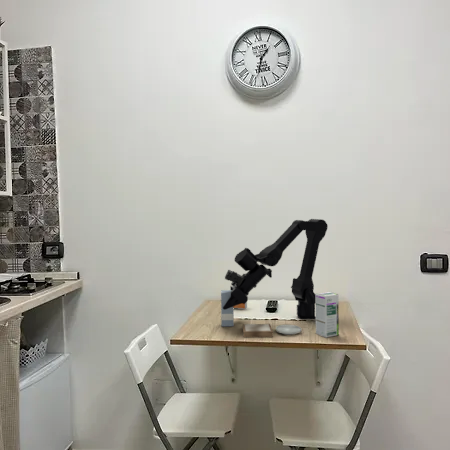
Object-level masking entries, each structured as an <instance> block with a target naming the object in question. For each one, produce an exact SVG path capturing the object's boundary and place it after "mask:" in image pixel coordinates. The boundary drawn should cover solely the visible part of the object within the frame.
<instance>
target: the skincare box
mask: <svg viewBox="0 0 450 450" xmlns="http://www.w3.org/2000/svg"><path fill="white" fill-rule="evenodd" d="M231 286H232V287H233V285H231ZM233 308H238V309H237V310H244V309H246V310H247V308H248V301H247V302H246V303H245V304H243V303H242V304H239V305H236V306H233Z"/></svg>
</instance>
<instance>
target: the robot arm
mask: <svg viewBox="0 0 450 450" xmlns="http://www.w3.org/2000/svg"><path fill="white" fill-rule="evenodd" d="M327 230H328V223H327V222H326V221H325V220H324V219H320V218H319V219H317V218H311V219H309V220H302V219H296V220H294V221H293V222H292V224H291V225H290V226H289V227H288V228H287V229H286V230H285V231H284V232H283V233H282V234H281V235H280V236H279V237H278V238H277V239H276V241H275V242H273V243H272V244H270V245H268V246H266V247H264V248H263V249H262V250H261V251H259V253H257V254H254V253H253V252H252V250H251V249H249V248H247V247H244V249H243V250H241V251H239V252H238V253H237V254H236V255H235V256H234V262H235V263H236V264H237V265H238V266H239V267H240V268H242V269H243V270H244V271H245V272H246V273H242V274H239V273H238V272H236V271H233V270H231V269H227V272H226V273H225V276H224V280H226V281H230V282H231V283H230V290H232V291H231V296H230V298H229V299H228V301H227V302H226V304H225V305H224V306H223V309H224V310H226V309H228V308H231V307H233V306H236V305H239V304H242V303H243V304H245V303H246V302H247V303H248V298H249V297H248V296H249V294H250V292H251V291H252V290H253V289H254V288H255V289H256V288H257V286H258V284H259V283H260V282H262V280H263V279H264V278H265V277H266V276H268V277H269V278H270V279H272V275H273V274H272V273H273V270H272V269H271V268H267V267H266V266H268V267H275V266H276V265H277V264H279V261H280V260H281V259H282V256H283V252H285V250H286V249H287V248H288V247H289V246H290V245H291V244H292V242H294V240H296V238H297V237H298V236H299V235H300V234H301V233H302V232H303V231H305V236H306V245H305V248H304V249H305V250H304V253H303V258H302V263H301V267H300V271H299V274H298V276H297V278H295V277H294V278H292V285H291V286H290V289H291V294H292V295H293V297H294V299H295V301H297V304H296V316H297V317H298V318H299V319H300V320H303V319H304V320H305V319H306V320H310V319H311V320H313V319H314V320H316V305H315V294H316V293H315V292H314V287H315V286H314V282H313V274H314V269H315V264H316V260H317V256H318V252H319V246H320V243H321V241H322V240H323V239H324V238H325V236H326V233H327ZM259 263H260V264H259ZM232 285H233V287H232Z"/></svg>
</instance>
